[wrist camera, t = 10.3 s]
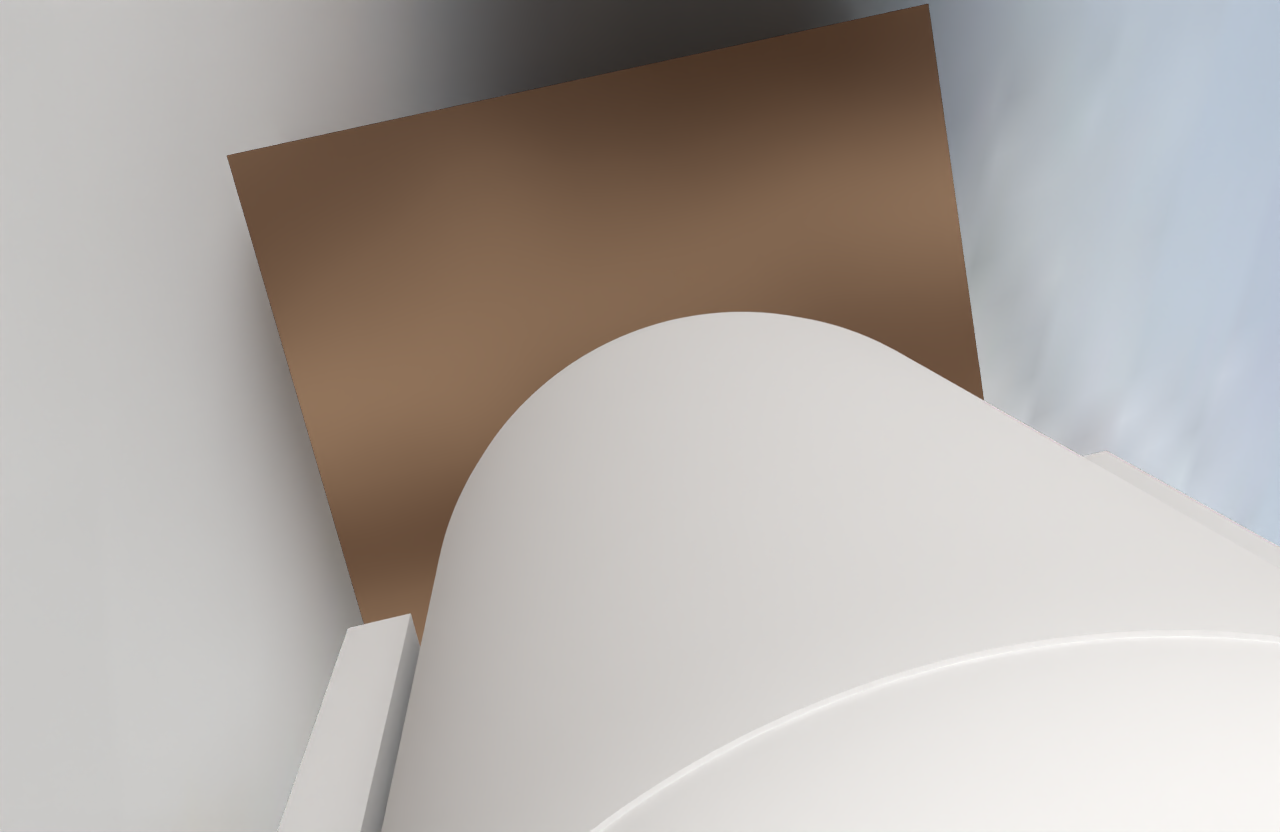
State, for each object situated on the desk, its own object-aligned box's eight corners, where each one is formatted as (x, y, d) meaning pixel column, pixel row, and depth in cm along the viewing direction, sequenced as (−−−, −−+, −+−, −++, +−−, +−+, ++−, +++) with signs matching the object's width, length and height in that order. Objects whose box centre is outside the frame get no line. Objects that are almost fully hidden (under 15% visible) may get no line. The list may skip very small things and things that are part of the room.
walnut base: (277, 149, 28) (226, 155, 23) (859, 23, 28) (928, 3, 24) (428, 683, 31) (411, 786, 27) (942, 562, 32) (1017, 640, 27)
